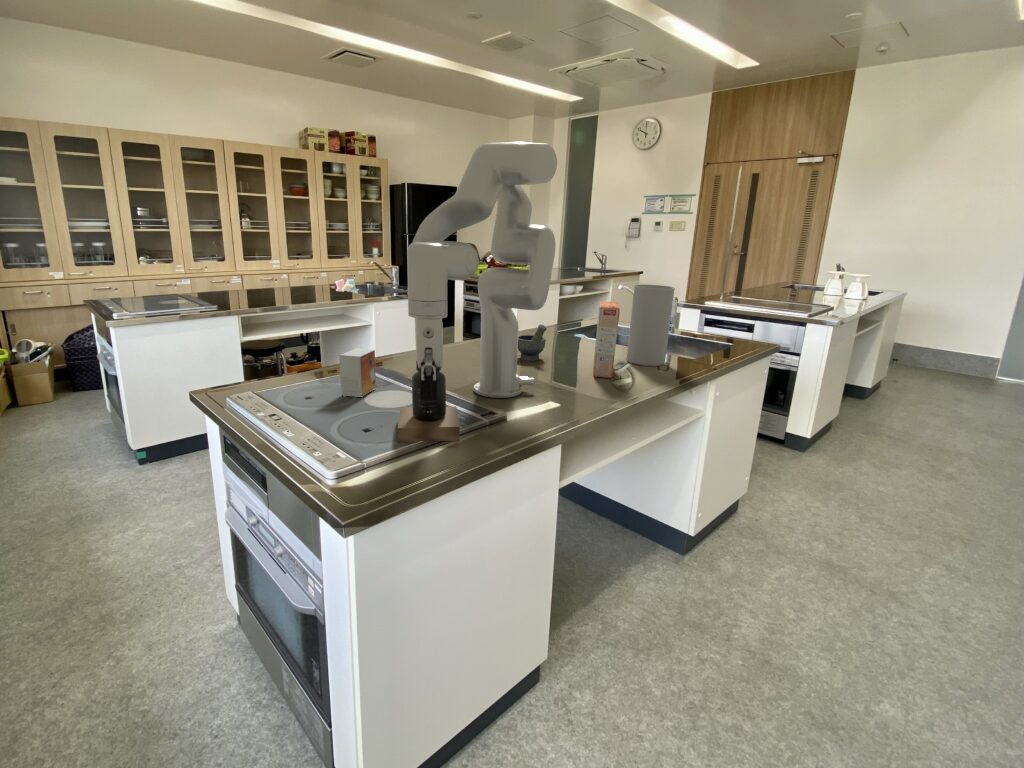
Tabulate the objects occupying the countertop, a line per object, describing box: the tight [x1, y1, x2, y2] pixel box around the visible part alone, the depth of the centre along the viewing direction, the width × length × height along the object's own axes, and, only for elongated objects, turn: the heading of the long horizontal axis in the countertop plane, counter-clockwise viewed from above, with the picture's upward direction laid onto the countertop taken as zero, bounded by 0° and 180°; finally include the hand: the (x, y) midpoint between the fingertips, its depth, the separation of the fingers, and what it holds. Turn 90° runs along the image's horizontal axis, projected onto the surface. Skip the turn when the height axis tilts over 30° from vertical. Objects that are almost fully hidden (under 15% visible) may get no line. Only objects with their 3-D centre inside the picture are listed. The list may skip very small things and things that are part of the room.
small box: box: [338, 347, 377, 398], centre depth 127 cm, size 8×6×10 cm
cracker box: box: [593, 300, 621, 379], centre depth 154 cm, size 14×6×21 cm, turn 171°
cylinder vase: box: [626, 284, 675, 367], centre depth 168 cm, size 12×12×25 cm
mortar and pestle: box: [518, 324, 547, 362], centre depth 168 cm, size 11×9×12 cm
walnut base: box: [397, 406, 461, 443], centre depth 106 cm, size 12×12×3 cm
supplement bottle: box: [411, 360, 447, 422], centre depth 104 cm, size 7×7×12 cm
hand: (428, 392), depth 105 cm, fingers open, 9 cm apart
